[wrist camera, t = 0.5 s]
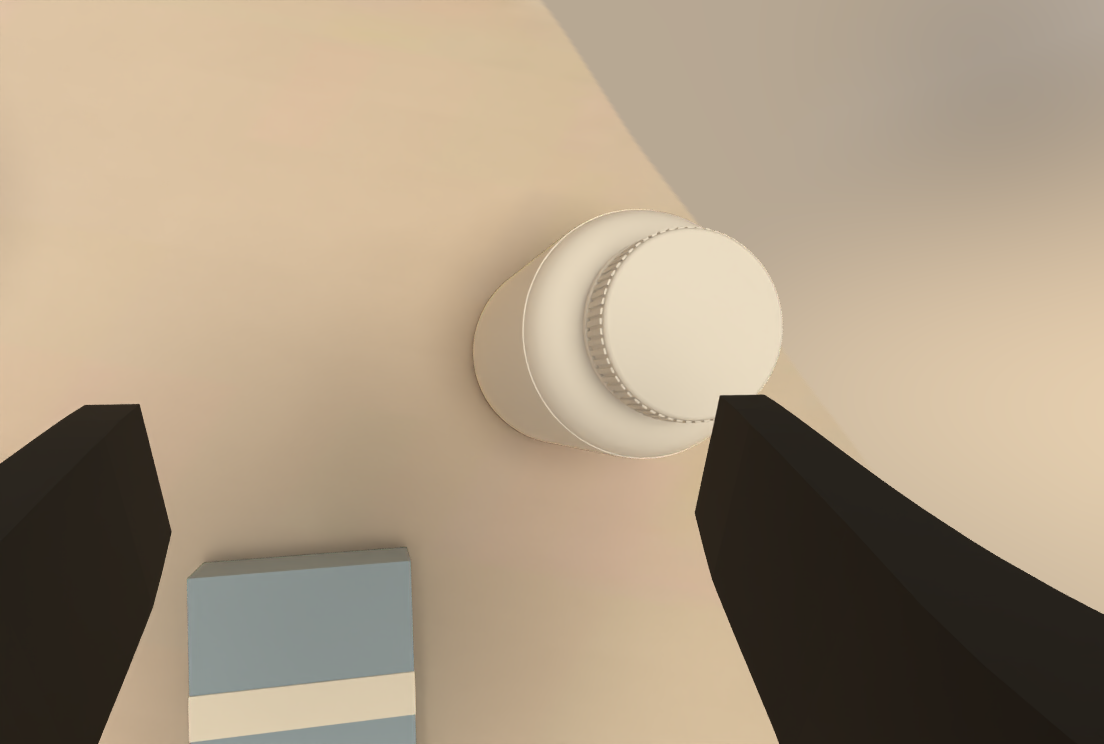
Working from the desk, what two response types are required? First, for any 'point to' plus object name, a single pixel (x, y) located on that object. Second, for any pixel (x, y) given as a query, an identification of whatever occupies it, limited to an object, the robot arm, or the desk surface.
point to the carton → (302, 650)
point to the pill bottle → (628, 335)
